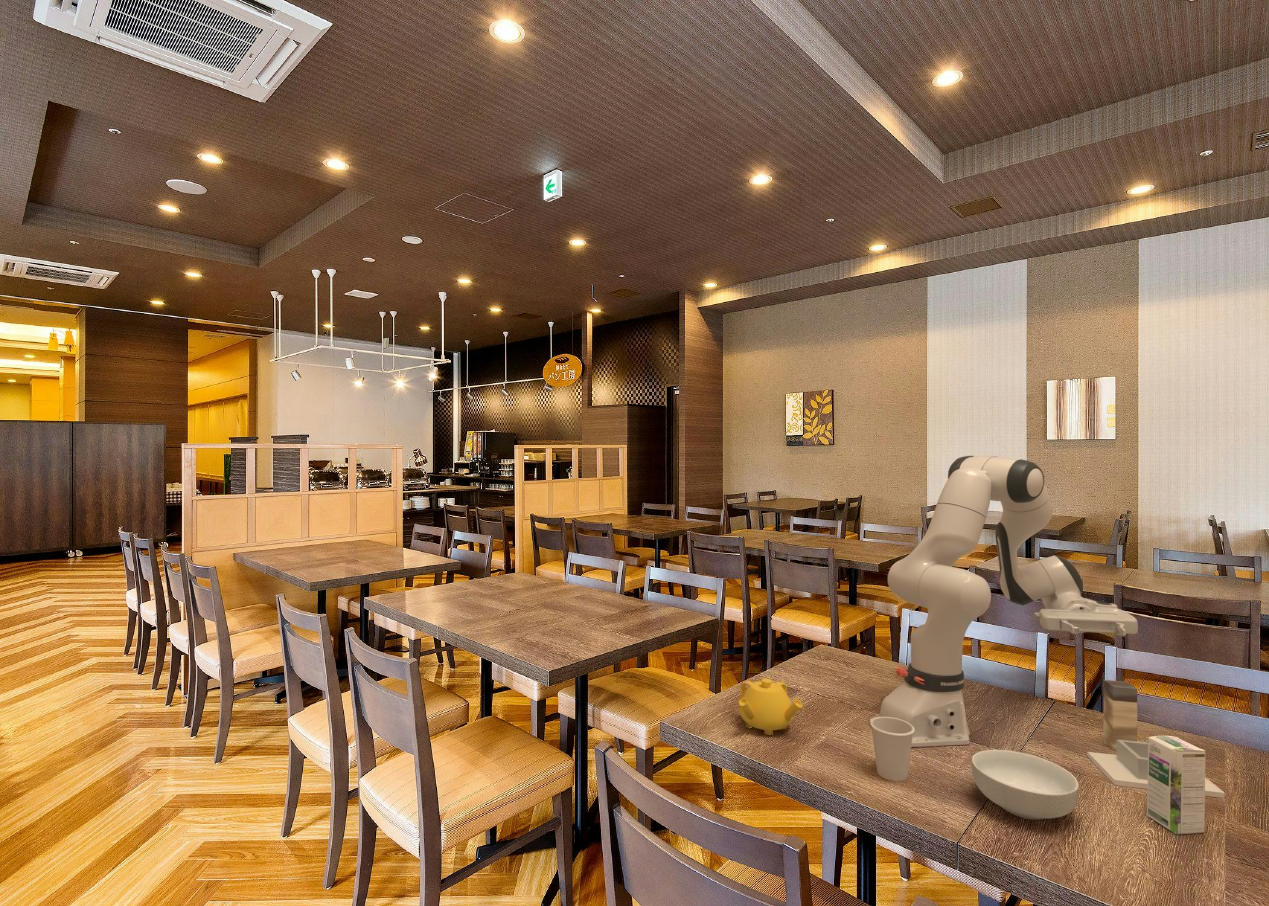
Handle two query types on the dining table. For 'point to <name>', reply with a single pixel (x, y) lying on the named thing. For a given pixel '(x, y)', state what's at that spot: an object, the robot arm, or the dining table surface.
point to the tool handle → (1119, 712)
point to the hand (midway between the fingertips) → (1098, 631)
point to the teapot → (767, 705)
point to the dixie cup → (892, 747)
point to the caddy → (1134, 767)
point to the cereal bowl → (1025, 784)
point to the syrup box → (1176, 784)
